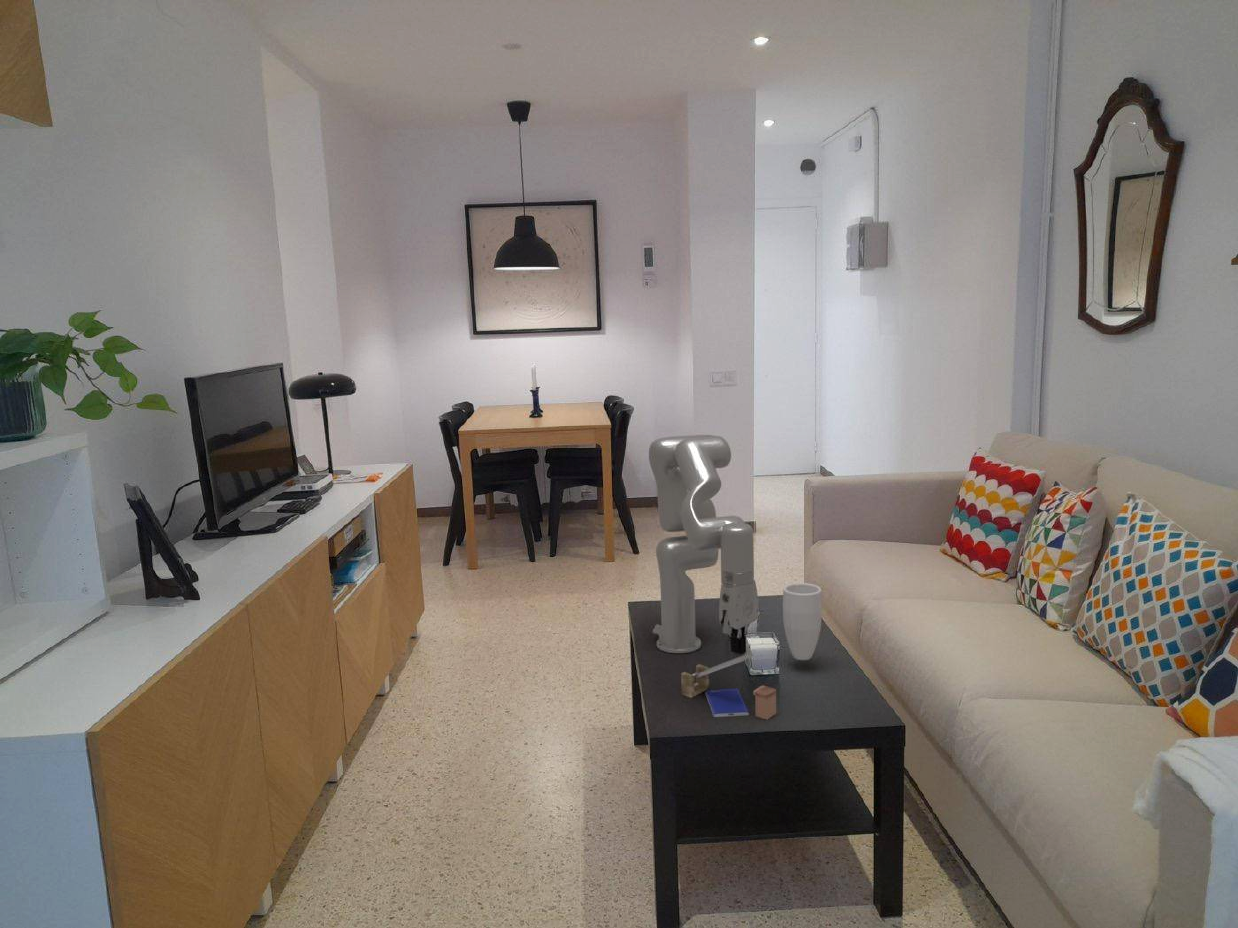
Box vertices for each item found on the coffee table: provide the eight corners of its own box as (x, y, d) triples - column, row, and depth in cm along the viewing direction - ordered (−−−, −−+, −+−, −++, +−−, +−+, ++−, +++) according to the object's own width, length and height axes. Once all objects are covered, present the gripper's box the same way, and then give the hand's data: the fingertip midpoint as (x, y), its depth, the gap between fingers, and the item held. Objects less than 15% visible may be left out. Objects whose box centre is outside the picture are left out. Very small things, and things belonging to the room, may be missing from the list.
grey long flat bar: (689, 681, 205) (687, 676, 205) (699, 676, 208) (696, 671, 208) (744, 661, 193) (741, 656, 193) (753, 656, 195) (751, 651, 196)
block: (753, 715, 193) (753, 690, 192) (763, 709, 196) (762, 685, 195) (766, 719, 190) (766, 695, 189) (776, 713, 193) (776, 689, 192)
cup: (773, 667, 219) (773, 588, 216) (797, 656, 226) (797, 579, 223) (807, 678, 212) (807, 597, 208) (830, 666, 218) (831, 587, 215)
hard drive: (705, 690, 205) (713, 712, 193) (738, 688, 205) (748, 710, 193) (705, 696, 205) (713, 719, 193) (738, 694, 206) (748, 717, 193)
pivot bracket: (681, 694, 205) (681, 673, 204) (699, 684, 210) (699, 664, 209) (691, 697, 203) (690, 676, 202) (709, 687, 208) (708, 667, 207)
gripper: (732, 587, 185) (733, 665, 188) (769, 571, 196) (769, 646, 199) (705, 581, 190) (706, 658, 193) (742, 566, 201) (743, 639, 204)
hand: (738, 651), depth 196 cm, fingers closed
